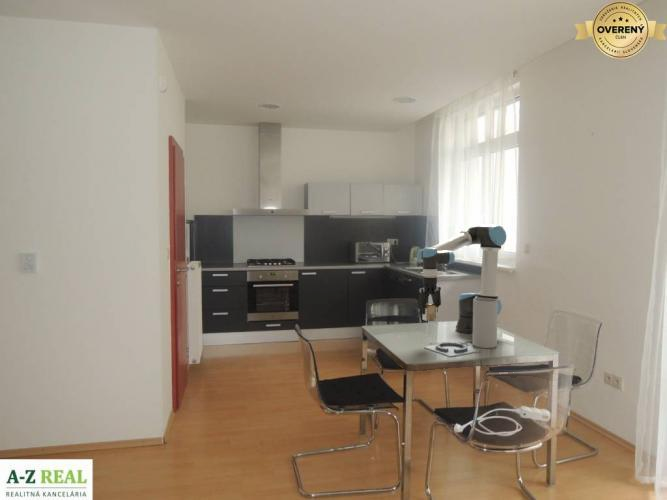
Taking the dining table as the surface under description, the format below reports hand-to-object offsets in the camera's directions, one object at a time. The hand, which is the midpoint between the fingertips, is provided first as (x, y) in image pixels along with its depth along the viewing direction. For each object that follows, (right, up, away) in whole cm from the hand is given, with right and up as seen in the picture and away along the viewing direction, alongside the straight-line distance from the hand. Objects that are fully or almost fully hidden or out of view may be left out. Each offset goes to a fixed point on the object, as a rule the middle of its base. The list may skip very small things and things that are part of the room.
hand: (429, 319), depth 266 cm
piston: (0, 0, 0) cm, 1 cm away
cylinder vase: (+29, -15, 0) cm, 33 cm away
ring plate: (+10, -15, -8) cm, 20 cm away
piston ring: (+10, -15, -8) cm, 20 cm away
